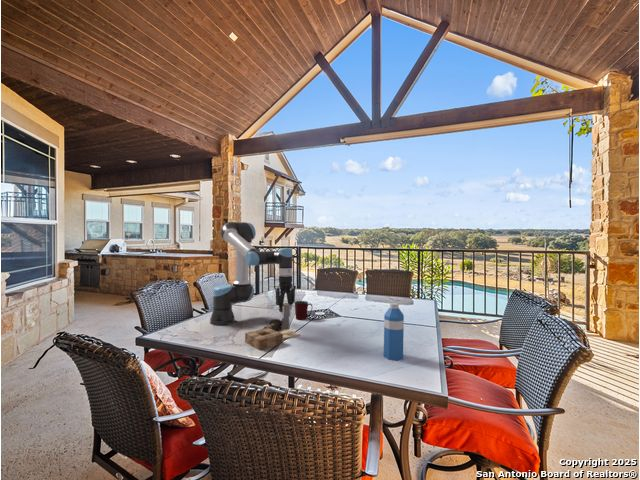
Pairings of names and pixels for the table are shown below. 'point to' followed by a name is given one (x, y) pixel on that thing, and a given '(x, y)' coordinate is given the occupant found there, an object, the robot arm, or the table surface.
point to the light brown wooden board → (288, 334)
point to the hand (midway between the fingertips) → (285, 316)
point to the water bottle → (393, 333)
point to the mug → (301, 310)
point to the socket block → (263, 338)
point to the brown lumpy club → (274, 324)
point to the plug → (285, 317)
